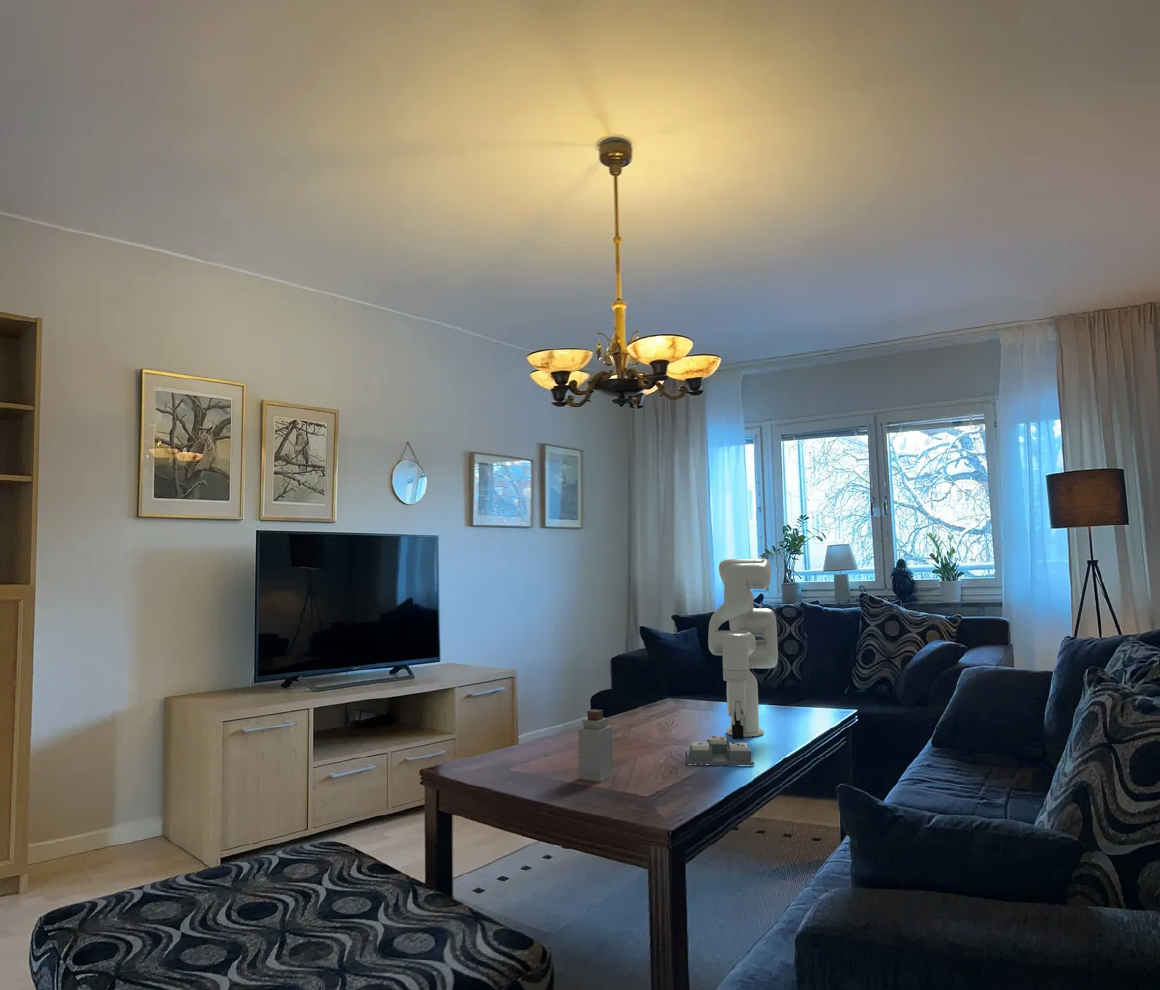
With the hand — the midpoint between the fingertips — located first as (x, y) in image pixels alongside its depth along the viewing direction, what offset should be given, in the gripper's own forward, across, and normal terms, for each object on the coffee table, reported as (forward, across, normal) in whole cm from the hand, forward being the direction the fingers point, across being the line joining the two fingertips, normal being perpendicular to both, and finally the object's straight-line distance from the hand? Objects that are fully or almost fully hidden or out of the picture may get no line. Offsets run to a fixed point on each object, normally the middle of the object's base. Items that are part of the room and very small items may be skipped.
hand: (737, 738), depth 232 cm
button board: (+7, -4, -5) cm, 10 cm away
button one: (+4, 0, -11) cm, 12 cm away
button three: (+4, 0, 0) cm, 4 cm away
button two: (+4, -9, -5) cm, 11 cm away
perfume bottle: (+7, +20, -40) cm, 45 cm away
